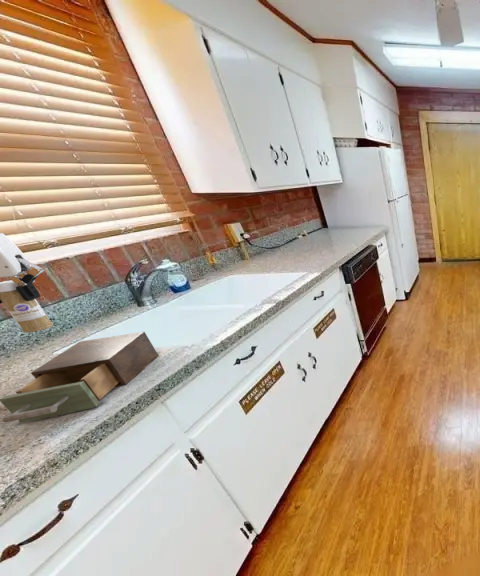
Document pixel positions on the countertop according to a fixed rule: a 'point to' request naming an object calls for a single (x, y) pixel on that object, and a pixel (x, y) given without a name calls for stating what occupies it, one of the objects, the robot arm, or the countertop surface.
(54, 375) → the drawer
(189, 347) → the countertop surface
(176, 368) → the countertop surface
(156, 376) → the countertop surface
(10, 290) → the sprinkles bottle
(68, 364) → the cabinet
